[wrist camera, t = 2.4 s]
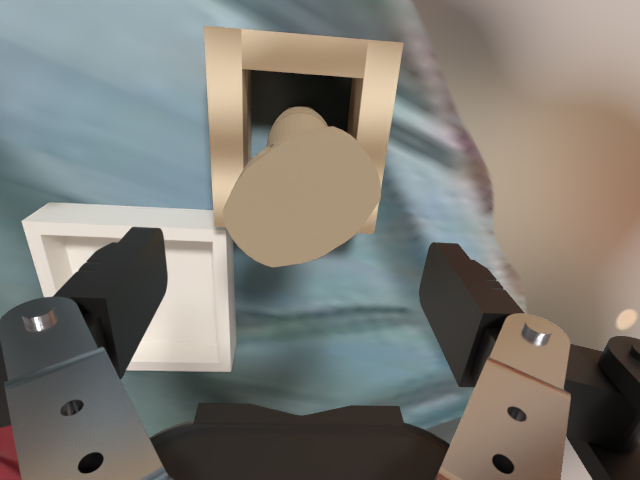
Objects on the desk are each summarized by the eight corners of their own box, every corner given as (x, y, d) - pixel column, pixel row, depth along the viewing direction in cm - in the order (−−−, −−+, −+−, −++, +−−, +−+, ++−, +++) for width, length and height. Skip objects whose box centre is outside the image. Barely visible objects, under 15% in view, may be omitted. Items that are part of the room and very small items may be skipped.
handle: (353, 128, 29) (401, 207, 16) (284, 176, 31) (274, 286, 17) (316, 70, 27) (336, 104, 14) (244, 124, 29) (198, 203, 15)
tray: (49, 202, 31) (21, 221, 27) (232, 211, 32) (225, 230, 29) (85, 341, 37) (65, 369, 34) (236, 344, 38) (231, 371, 35)
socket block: (219, 27, 26) (203, 25, 21) (385, 41, 27) (403, 42, 22) (225, 199, 31) (214, 226, 27) (363, 206, 32) (373, 233, 28)
